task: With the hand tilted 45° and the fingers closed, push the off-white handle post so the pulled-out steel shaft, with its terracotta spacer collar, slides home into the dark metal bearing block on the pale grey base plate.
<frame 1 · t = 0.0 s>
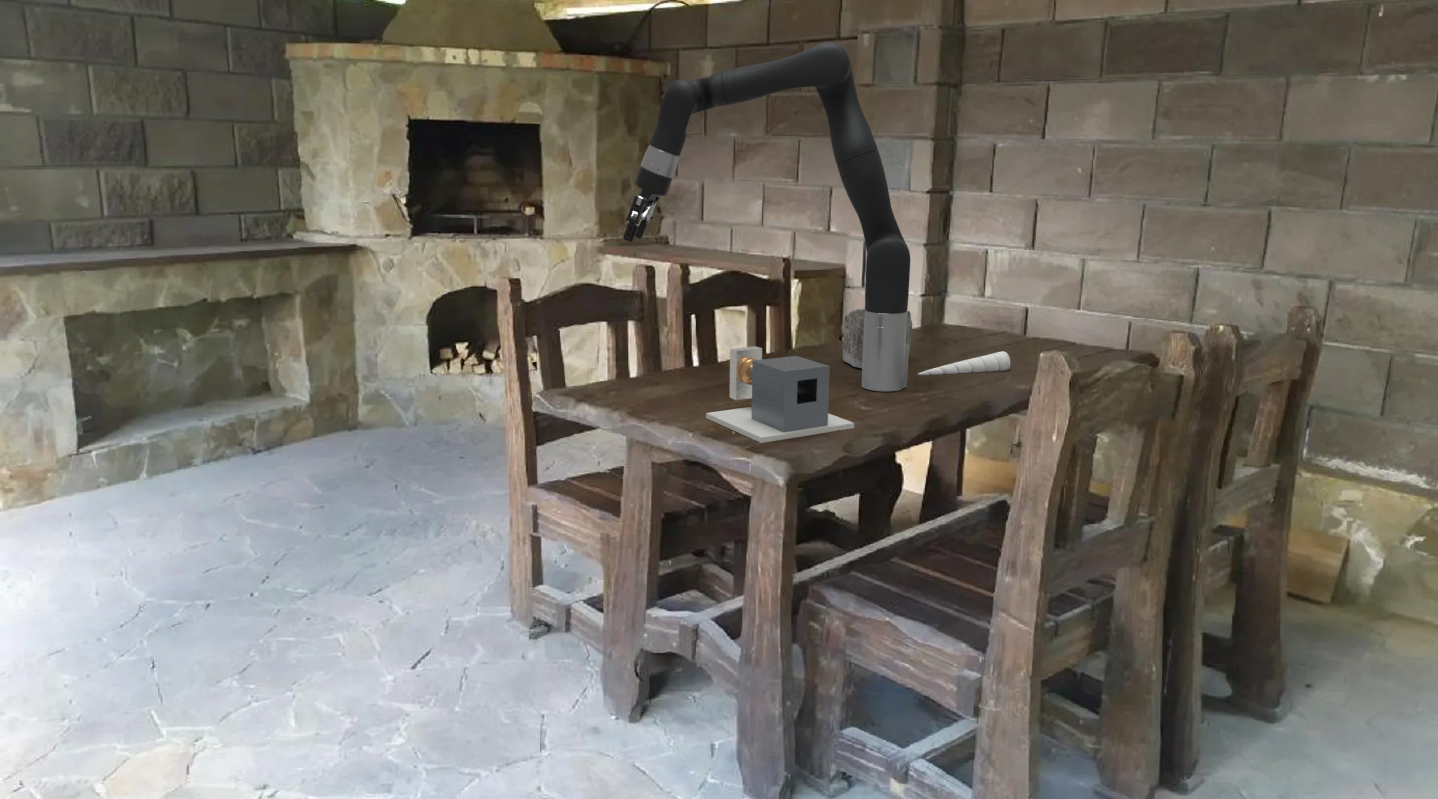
hand: (632, 239, 231), 31 cm above the table, tool tilted 20°, fingers open, 8 cm apart
bearing block: (789, 392, 195), on the base plate, point 7 cm above the table
unicorn horn: (966, 374, 246), on the table
shaft: (763, 379, 202), point 7 cm above the table, slide at 7.0 cm
base plate: (778, 422, 199), on the table
petrified wood: (878, 364, 255), on the table
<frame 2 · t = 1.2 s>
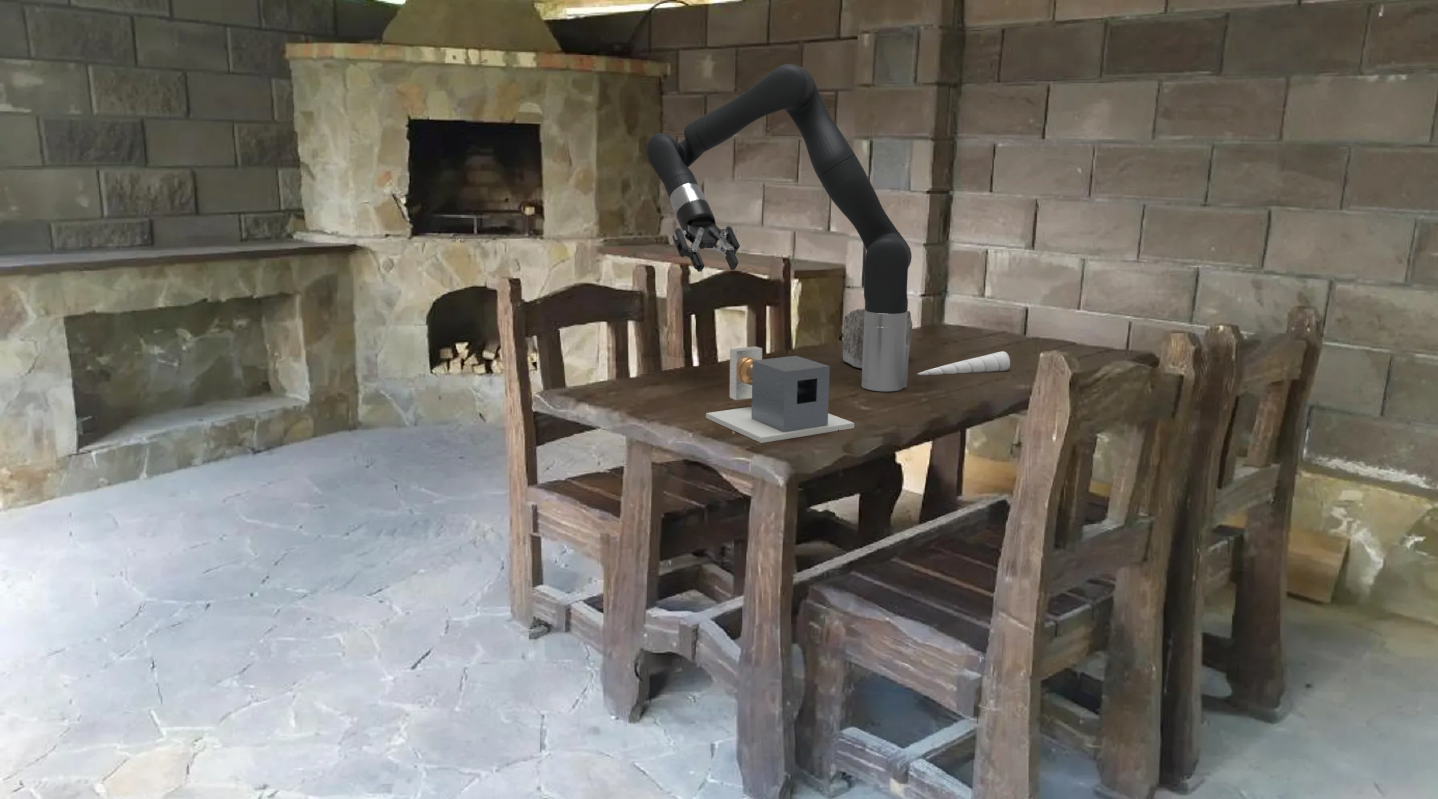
hand: (718, 268, 218), 27 cm above the table, tool tilted 45°, fingers open, 7 cm apart
nothing on the table moved.
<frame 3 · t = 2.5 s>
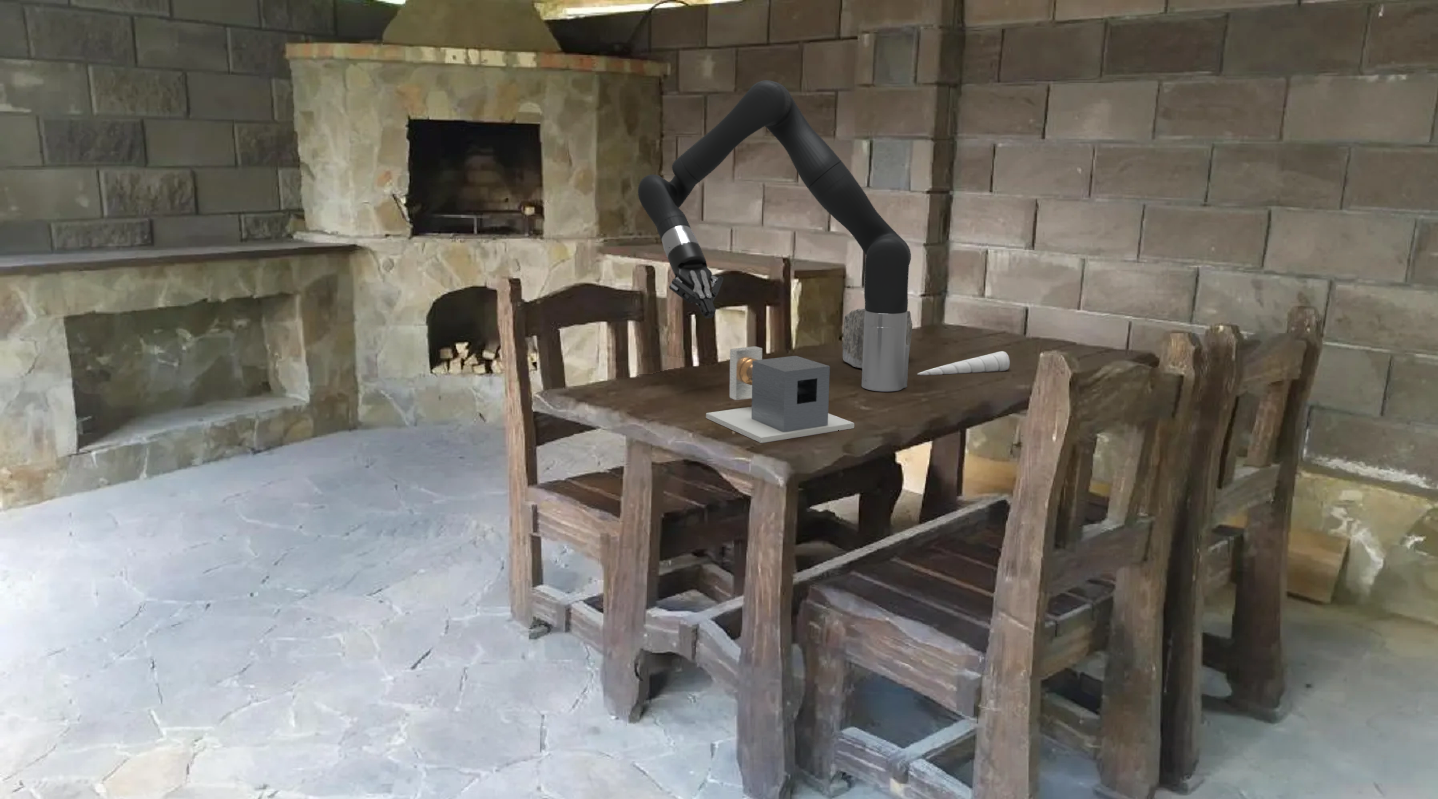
hand: (710, 315, 218), 17 cm above the table, tool tilted 45°, fingers closed
nothing on the table moved.
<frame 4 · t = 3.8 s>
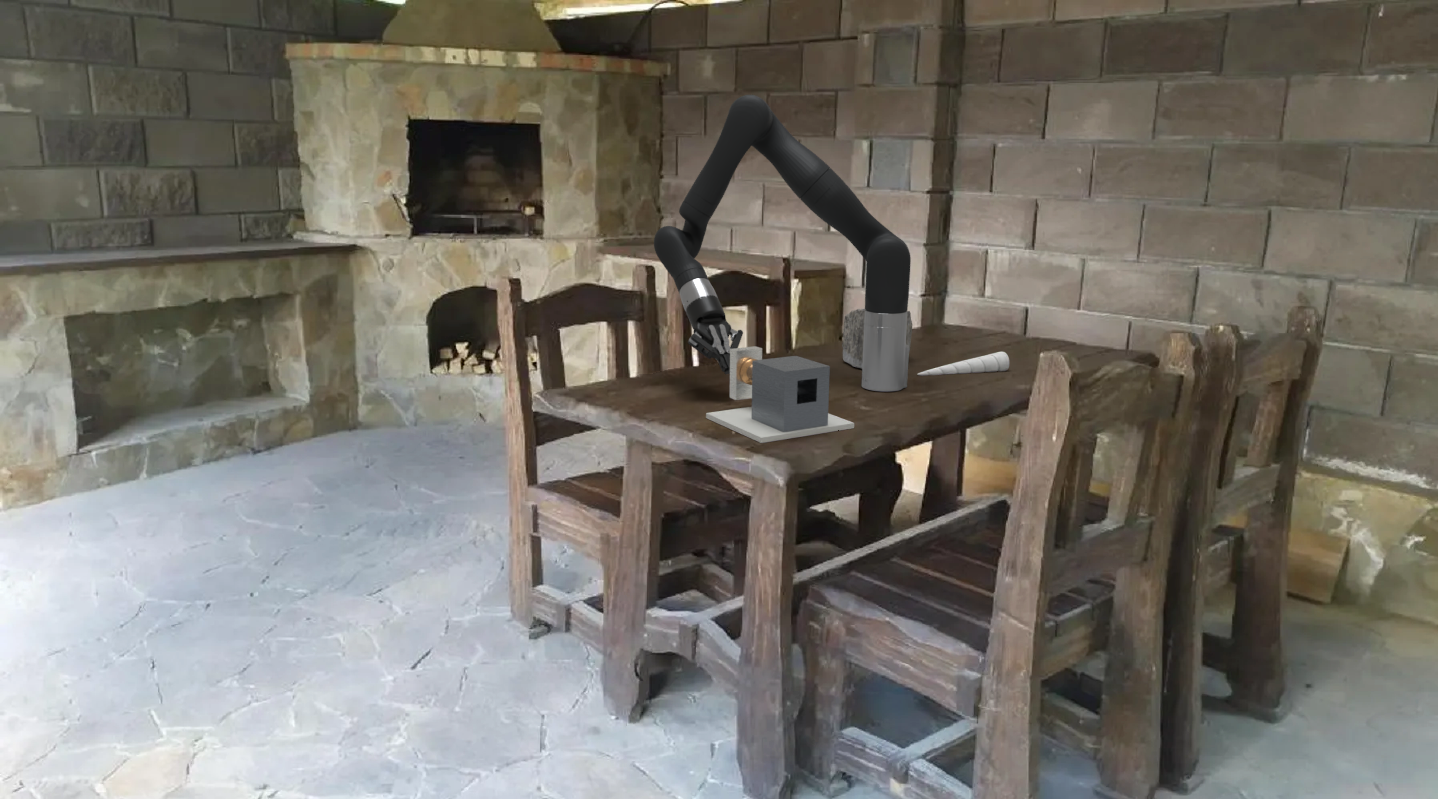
hand: (730, 371, 213), 7 cm above the table, tool tilted 45°, fingers closed
nothing on the table moved.
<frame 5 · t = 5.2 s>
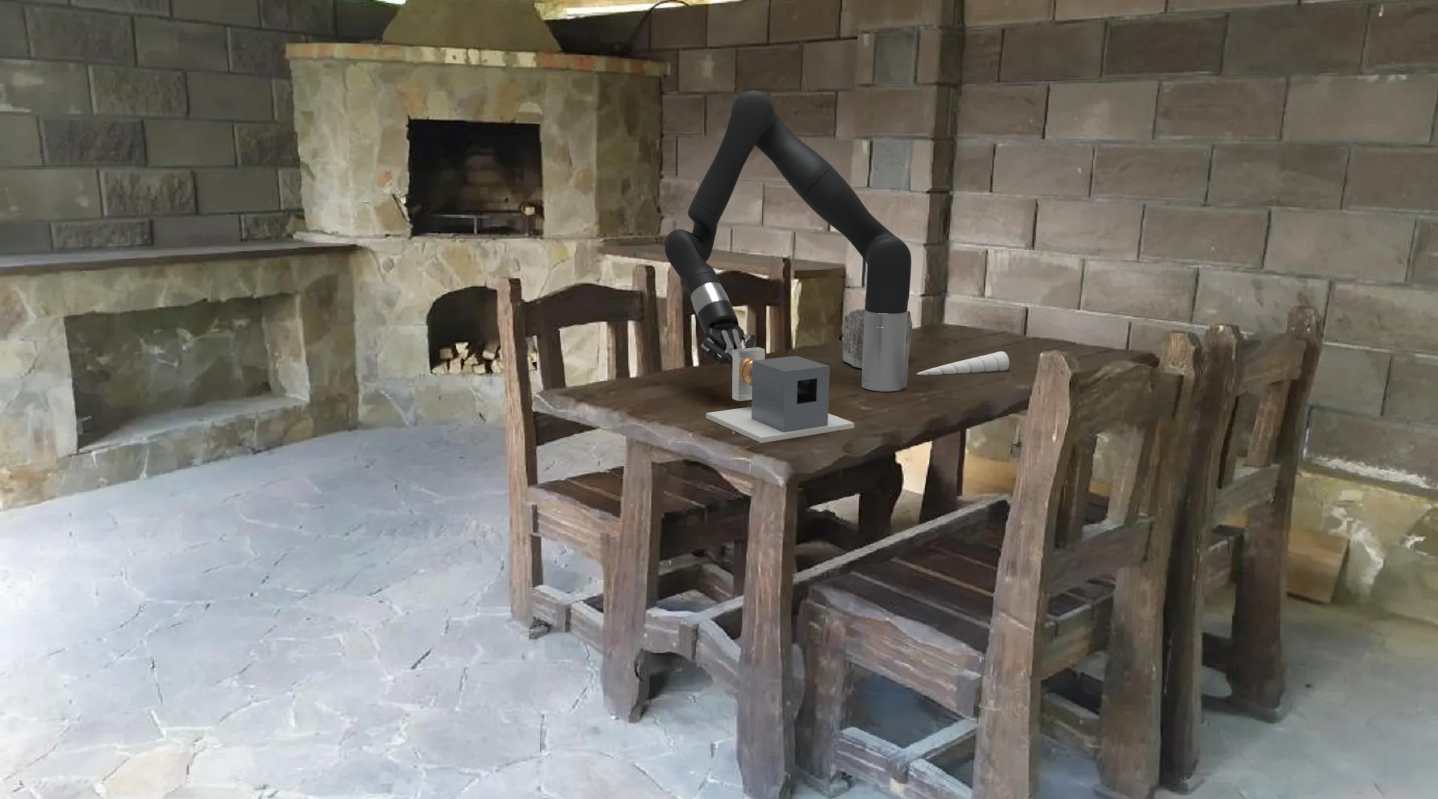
hand: (743, 377, 209), 6 cm above the table, tool tilted 45°, fingers closed
shaft: (766, 380, 202), point 7 cm above the table, slide at 6.0 cm, touching gripper
everything else where it was.
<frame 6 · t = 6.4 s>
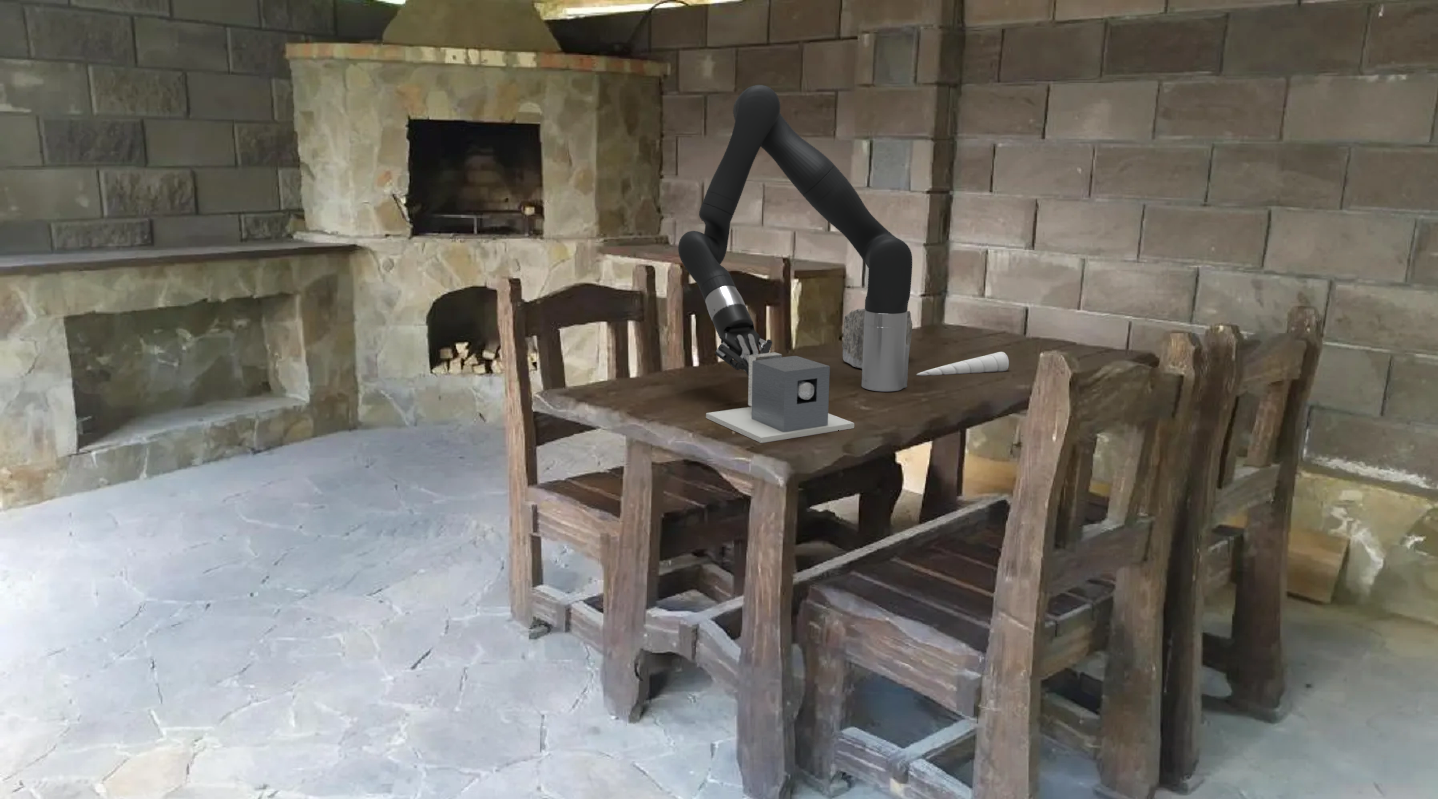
hand: (760, 383, 204), 6 cm above the table, tool tilted 45°, fingers closed
shaft: (783, 386, 197), point 8 cm above the table, slide at -0.1 cm, touching gripper
everything else where it was.
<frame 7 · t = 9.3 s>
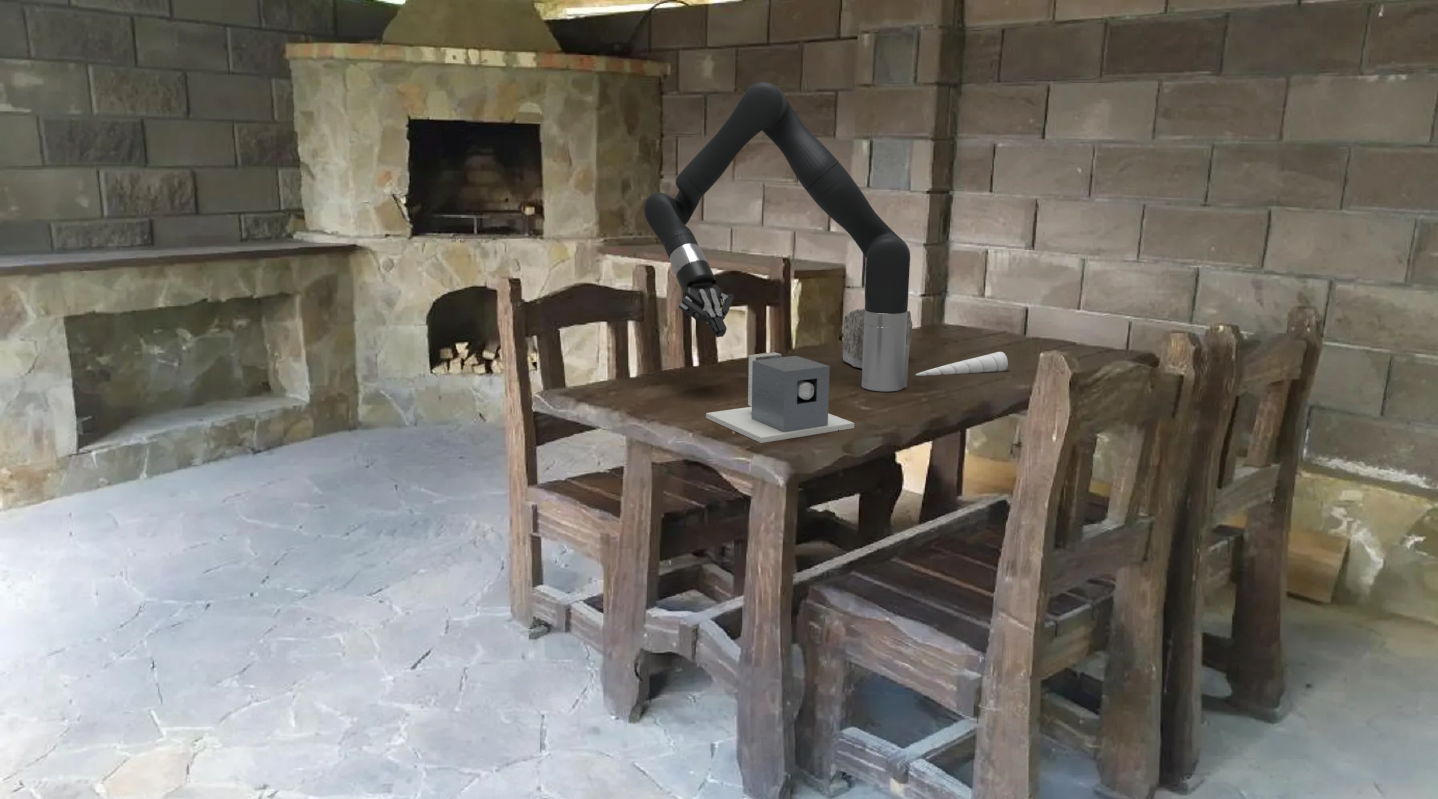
hand: (721, 334, 215), 14 cm above the table, tool tilted 45°, fingers closed
shaft: (783, 386, 197), point 8 cm above the table, slide at 0.0 cm
everything else where it was.
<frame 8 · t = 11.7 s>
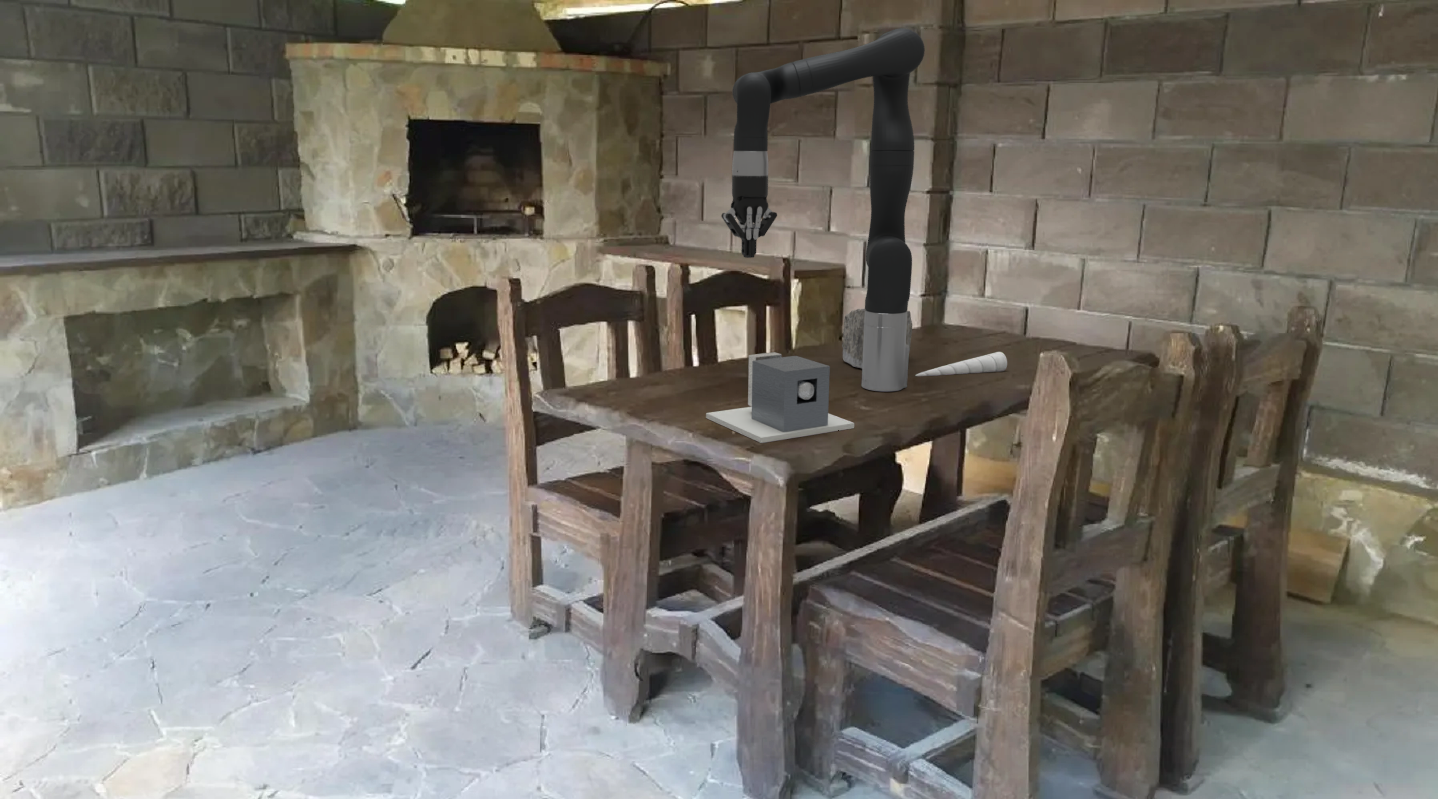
hand: (748, 257, 219), 29 cm above the table, tool pointing down, fingers closed
at the end: shaft slide at 0.0 cm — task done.
